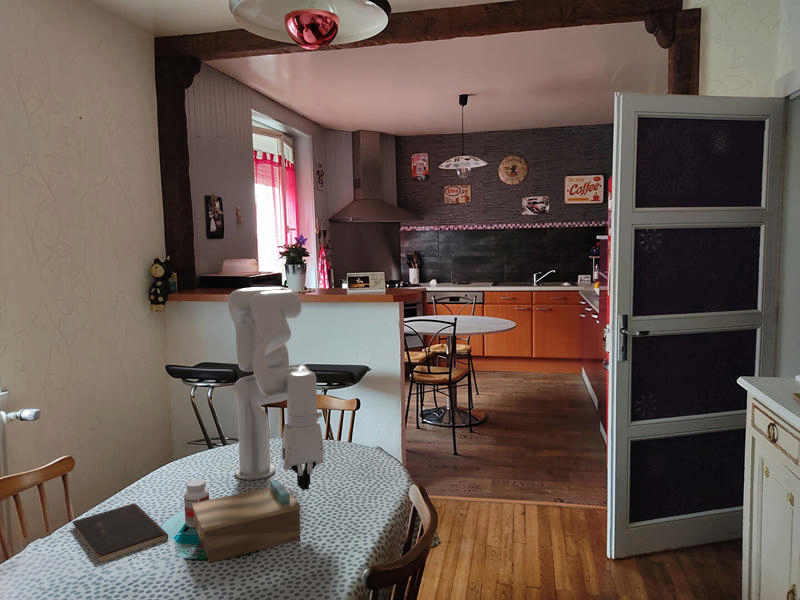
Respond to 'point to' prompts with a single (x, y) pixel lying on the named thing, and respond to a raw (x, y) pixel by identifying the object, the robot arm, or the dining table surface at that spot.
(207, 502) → the toolbox lid
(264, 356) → the robot arm
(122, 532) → the hardcover book
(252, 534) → the brown boxy piece
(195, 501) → the pill bottle
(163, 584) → the dining table surface
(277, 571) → the dining table surface
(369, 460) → the dining table surface
